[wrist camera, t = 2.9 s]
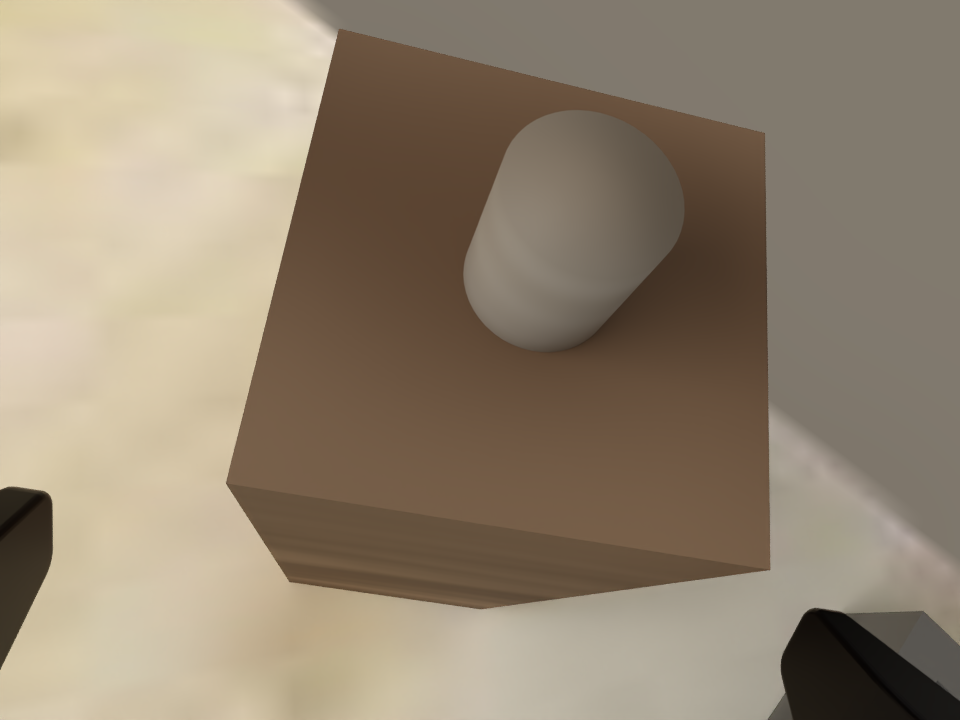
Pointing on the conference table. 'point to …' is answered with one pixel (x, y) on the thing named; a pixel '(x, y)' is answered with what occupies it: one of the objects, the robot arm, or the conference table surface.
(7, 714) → the conference table surface
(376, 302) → the block
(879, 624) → the tray
